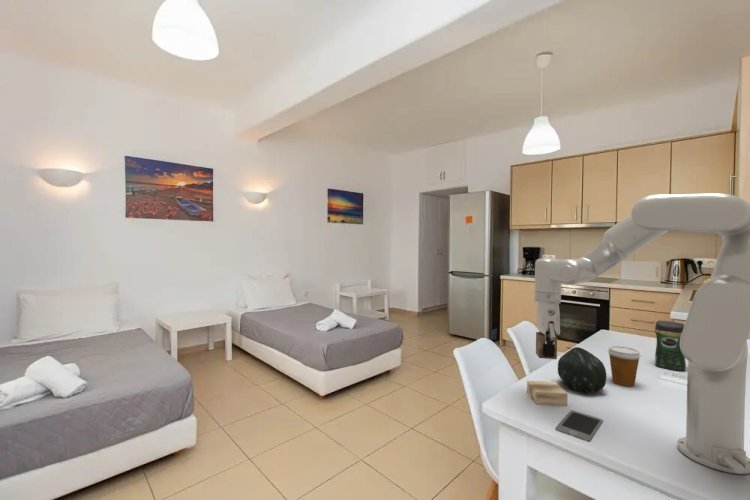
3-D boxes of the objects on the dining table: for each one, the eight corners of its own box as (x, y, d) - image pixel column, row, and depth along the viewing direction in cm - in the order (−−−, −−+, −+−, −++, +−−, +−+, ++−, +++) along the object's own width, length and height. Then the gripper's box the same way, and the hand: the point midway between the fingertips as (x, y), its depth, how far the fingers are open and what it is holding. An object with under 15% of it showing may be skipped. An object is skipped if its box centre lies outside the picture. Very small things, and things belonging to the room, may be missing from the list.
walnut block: (556, 359, 107) (557, 337, 107) (539, 358, 108) (539, 335, 108) (552, 354, 112) (552, 333, 111) (535, 353, 113) (536, 331, 113)
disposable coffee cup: (646, 389, 117) (646, 354, 116) (614, 387, 119) (615, 352, 118) (631, 379, 126) (631, 346, 126) (602, 377, 128) (602, 345, 128)
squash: (606, 367, 123) (575, 334, 125) (624, 385, 108) (589, 347, 110) (572, 389, 126) (543, 357, 128) (585, 410, 112) (552, 373, 114)
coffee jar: (686, 367, 138) (687, 322, 138) (685, 373, 132) (686, 325, 132) (655, 362, 145) (656, 318, 145) (653, 366, 139) (653, 321, 139)
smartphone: (570, 411, 102) (570, 409, 102) (603, 422, 96) (603, 419, 96) (554, 430, 91) (554, 428, 91) (589, 443, 85) (589, 440, 85)
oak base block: (567, 406, 105) (567, 393, 105) (536, 405, 106) (536, 392, 106) (555, 394, 114) (555, 382, 114) (526, 392, 115) (527, 380, 115)
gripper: (569, 302, 100) (567, 364, 100) (552, 293, 117) (551, 347, 117) (541, 300, 102) (539, 361, 102) (529, 292, 118) (528, 345, 119)
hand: (546, 353), depth 110 cm, fingers closed on walnut block, 5 cm apart
